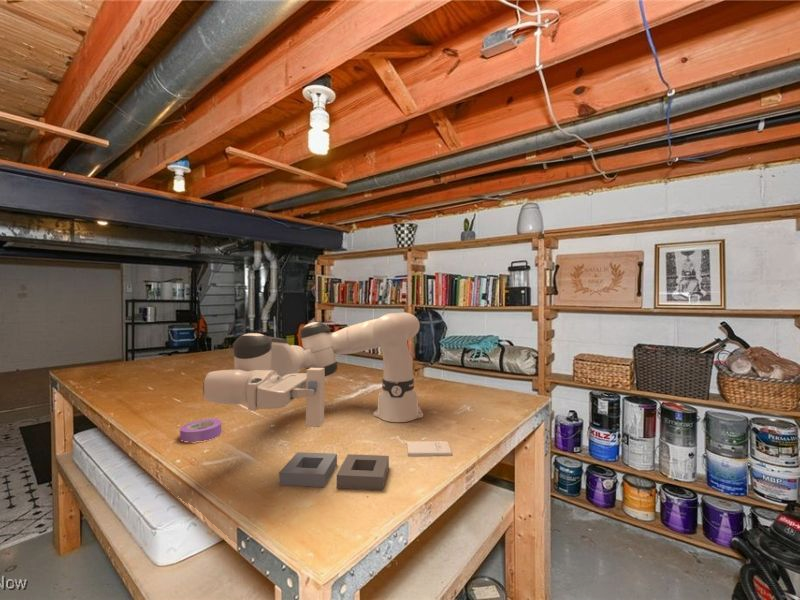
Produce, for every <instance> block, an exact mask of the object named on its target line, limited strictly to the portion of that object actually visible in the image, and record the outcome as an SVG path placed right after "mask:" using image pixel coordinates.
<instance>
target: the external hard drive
mask: <svg viewBox="0 0 800 600" xmlns="http://www.w3.org/2000/svg"><path fill="white" fill-rule="evenodd" d="M406 447H407V448H406V449H407V457H449V455H453V454H452V453H453V452H452V449H451V447H450V445H449V442H448V441H447V440H445V441H444V440H443V441H440V440H439V441H438V440H436V441H434V440H432V441H431V440H430V441H417V440H415V441H414V440H413V441H406Z"/></svg>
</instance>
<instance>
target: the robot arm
mask: <svg viewBox="0 0 800 600" xmlns="http://www.w3.org/2000/svg"><path fill="white" fill-rule="evenodd" d="M420 325H421V324H420V322H419V319H418V318H417V317H416V316H415V315H414V314H412V313H409V312H404V311H403V312H393V313H386V314H383V315H382V316H380V317H379V318H374V319H370V320H366V321H362V322H359V323H356V324H352V325H348V326H345V327H343V328H341V329H339V330H337V331H334V332H331V331H330V330H332V329H333V328H332V327H329V326H328V325H327V324H325V323H323V322H317V321H316V322H315V321H314V322H310V323H309V322H308V323H307V324H306V325H304V326H303V327H302V328H301V329H300V331H299V336H300V339H301V343H302V346H300V345H296V344H295V345H294V344H291V345H290V344H289V342H288V340H287V339H285V338H282V337H281V338H280V337H275V336H274V337H273V336H268V335H264V334H262V333H259V332H255V333H254V332H248V333H245V334H242V335H239V337H238V338H236V340H235V341H233V343H232V348H233V351H232V352H233V356H234V357H233V359H234V360H233V362H234V365H233V366H234V369H221V370H214V371H210V372H208V373H206V375H205V378H204V380H203V385H202V392H203V393H202V394H203V397H204V399H205V400H206V401H207V402H210V403H213V404H214V403H215V404H220V405H231V406H236V405H237V406H238V405H241V404H243V405H247V410H248V411H251V412H252V411H257V410H259V409H260V410H272V409H273V410H274V409H281V408H285V407H286V406H288V405H289V404H291V403H292V402H293V401H295V400H296V399H301V398H302V399H303V398H306V397H313V396H314V395H315V388H307V389H306V376H307V369H310V368H325V379H326V378H329V377H331V376H332V375H334V374H336V373H337V371H338V361H337V358H336V357H337V356H336V354H338V355H350V354H356V353H360V352H365V351H368V350H373V349H378V348H380V351H381V354H382V363H383V369H382V370H383V373H382V374H383V375H382V376H383V377H382V381H381V389H382V390H381V391H380V392H379V393H378V398H377V399H378V400H377V409H376V410H374V412H373V414H372V415H373V417H375V418H376V417H377V418H379V419H381V420H382V421H384V422H390V423H406V422H407V423H408V422H411V421H413V420H416V419H421V418H424V413H423V411H422V409H421V407H420V404H419V401H418V400H419V399H418V397H419V395H418V394H417V392H416V391H415V390H414V388H415V380H414V374H413V366H414V365H413V364H414V363H413V360H414V359H413V356H412V355H411V353H410V349H409V346H408V341H410V340H411V339H413V338H414V337H415V336H416V335H417V334H418V332H419V330H420ZM304 369H305V373H302V372H301V371H303V370H304ZM300 372H301V373H300Z"/></svg>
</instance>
